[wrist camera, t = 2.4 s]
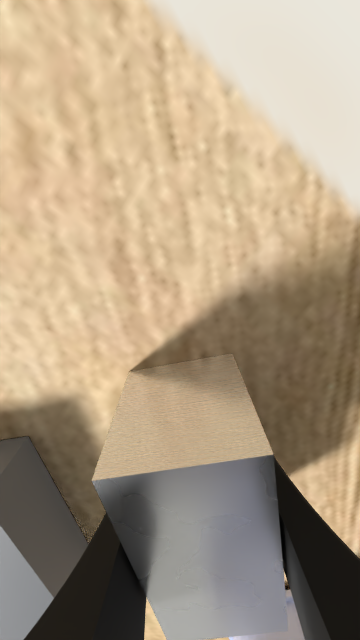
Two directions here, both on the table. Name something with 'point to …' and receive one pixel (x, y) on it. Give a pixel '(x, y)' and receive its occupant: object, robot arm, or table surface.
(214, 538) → the block
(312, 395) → the table surface
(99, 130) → the table surface
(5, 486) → the stand
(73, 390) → the table surface
